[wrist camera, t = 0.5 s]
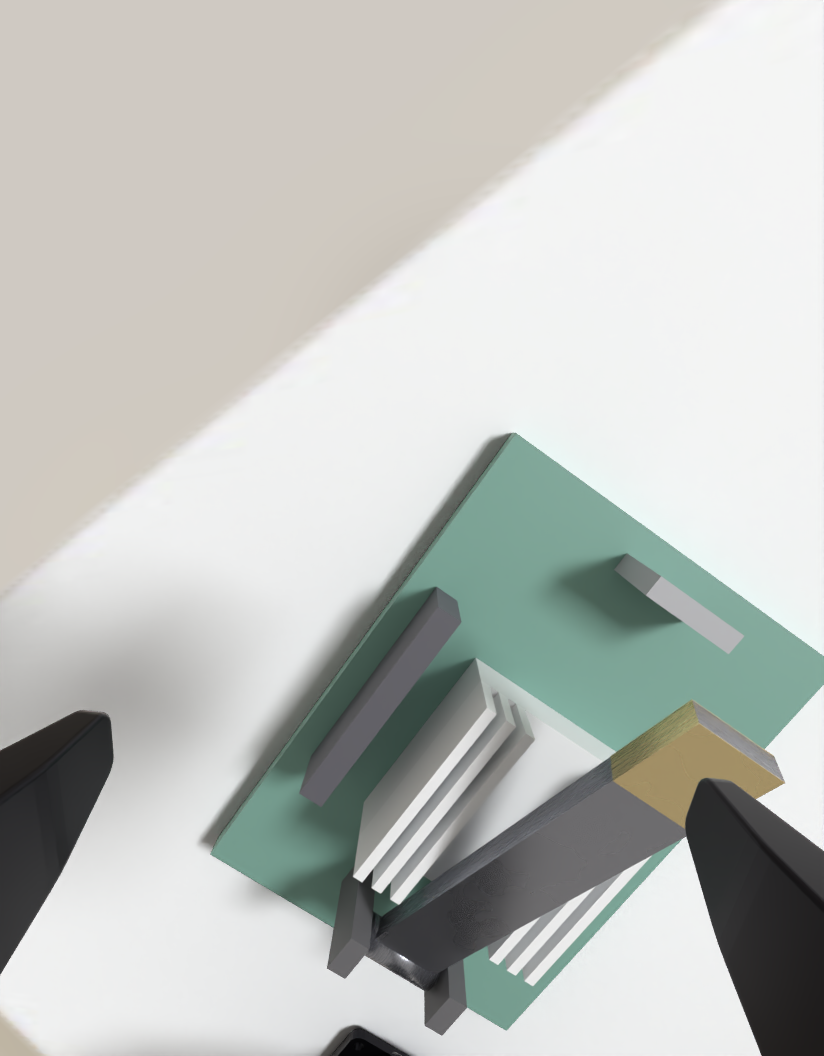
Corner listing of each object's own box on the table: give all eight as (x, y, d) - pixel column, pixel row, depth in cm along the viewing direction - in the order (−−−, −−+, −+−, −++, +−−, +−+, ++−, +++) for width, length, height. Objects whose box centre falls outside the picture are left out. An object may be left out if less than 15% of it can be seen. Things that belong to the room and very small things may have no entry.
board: (503, 1008, 27) (521, 1137, 23) (218, 837, 26) (170, 936, 21) (821, 657, 24) (926, 720, 19) (512, 432, 22) (538, 437, 17)
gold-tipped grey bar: (425, 956, 24) (418, 996, 23) (361, 918, 24) (351, 956, 22) (775, 751, 15) (795, 796, 14) (683, 687, 15) (695, 727, 14)
